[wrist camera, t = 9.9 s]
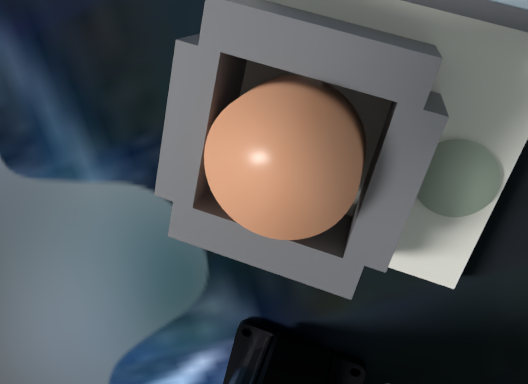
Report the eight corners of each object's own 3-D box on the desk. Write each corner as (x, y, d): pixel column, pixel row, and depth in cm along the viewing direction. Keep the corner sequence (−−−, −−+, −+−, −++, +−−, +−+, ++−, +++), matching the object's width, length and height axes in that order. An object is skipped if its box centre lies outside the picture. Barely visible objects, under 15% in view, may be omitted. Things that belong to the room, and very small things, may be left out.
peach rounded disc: (342, 227, 18) (333, 259, 16) (216, 186, 19) (192, 212, 17) (386, 98, 16) (383, 115, 14) (242, 57, 17) (219, 68, 14)
